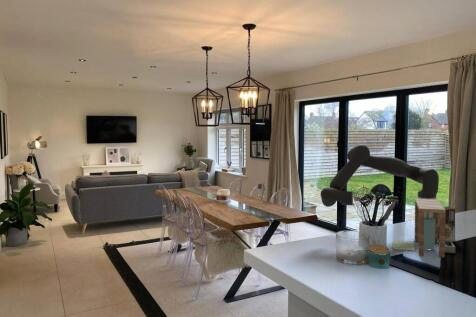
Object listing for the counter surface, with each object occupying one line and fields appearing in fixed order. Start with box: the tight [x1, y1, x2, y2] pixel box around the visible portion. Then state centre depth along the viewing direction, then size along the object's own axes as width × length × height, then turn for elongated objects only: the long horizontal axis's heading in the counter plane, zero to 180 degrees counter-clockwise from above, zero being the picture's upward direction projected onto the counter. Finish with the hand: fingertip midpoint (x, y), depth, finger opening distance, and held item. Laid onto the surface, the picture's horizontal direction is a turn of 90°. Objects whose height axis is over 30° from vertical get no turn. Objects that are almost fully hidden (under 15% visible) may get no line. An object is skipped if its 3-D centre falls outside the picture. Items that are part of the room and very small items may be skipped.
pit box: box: [445, 241, 456, 255], centre depth 164 cm, size 9×4×3 cm, turn 158°
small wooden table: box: [414, 198, 446, 258], centre depth 166 cm, size 23×10×21 cm, turn 158°
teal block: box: [424, 217, 436, 251], centre depth 166 cm, size 5×5×14 cm
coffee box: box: [431, 205, 456, 242], centre depth 179 cm, size 9×6×16 cm
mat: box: [392, 240, 416, 252], centre depth 171 cm, size 12×9×1 cm
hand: (398, 200), depth 170 cm, fingers open, 8 cm apart
